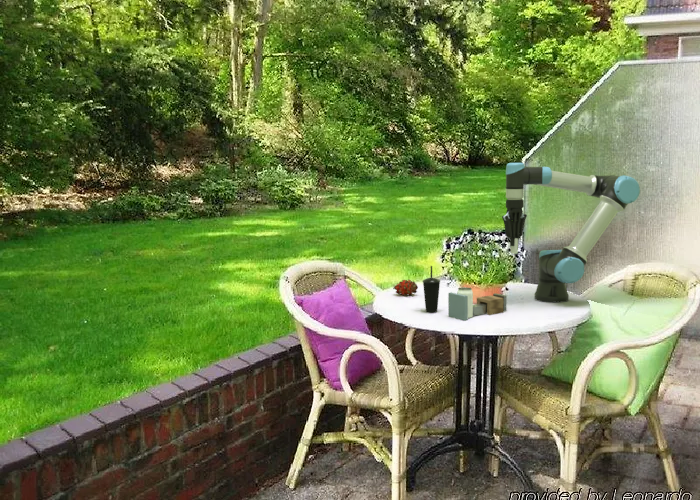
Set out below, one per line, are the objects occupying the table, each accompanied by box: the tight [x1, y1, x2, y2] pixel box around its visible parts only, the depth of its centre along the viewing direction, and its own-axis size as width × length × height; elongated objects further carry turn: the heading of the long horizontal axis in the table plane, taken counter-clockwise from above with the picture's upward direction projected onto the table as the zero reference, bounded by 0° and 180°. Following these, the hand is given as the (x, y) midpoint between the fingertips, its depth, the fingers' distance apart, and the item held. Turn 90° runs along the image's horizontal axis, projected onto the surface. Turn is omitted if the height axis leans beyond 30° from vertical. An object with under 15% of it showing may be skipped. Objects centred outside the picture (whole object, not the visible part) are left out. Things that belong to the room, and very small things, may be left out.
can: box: [456, 286, 474, 319], centre depth 291 cm, size 6×6×12 cm
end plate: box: [447, 291, 469, 322], centre depth 289 cm, size 2×10×10 cm, turn 33°
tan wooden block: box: [476, 295, 504, 316], centre depth 299 cm, size 8×8×6 cm
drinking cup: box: [422, 265, 441, 314], centre depth 301 cm, size 8×8×20 cm
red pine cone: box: [392, 279, 419, 297], centre depth 338 cm, size 8×8×12 cm
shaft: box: [472, 293, 508, 317], centre depth 298 cm, size 18×6×7 cm, turn 123°
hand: (514, 253), depth 304 cm, fingers closed
